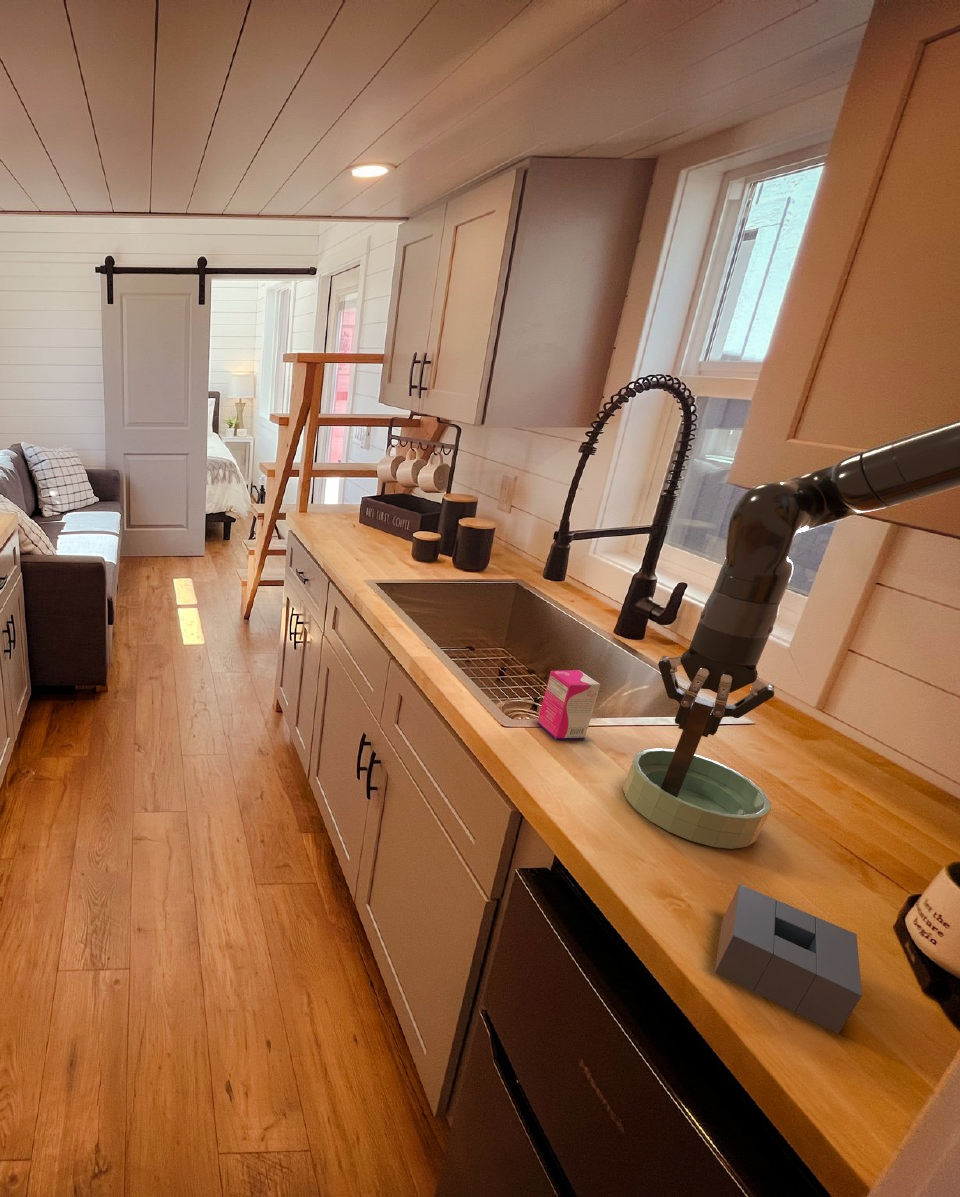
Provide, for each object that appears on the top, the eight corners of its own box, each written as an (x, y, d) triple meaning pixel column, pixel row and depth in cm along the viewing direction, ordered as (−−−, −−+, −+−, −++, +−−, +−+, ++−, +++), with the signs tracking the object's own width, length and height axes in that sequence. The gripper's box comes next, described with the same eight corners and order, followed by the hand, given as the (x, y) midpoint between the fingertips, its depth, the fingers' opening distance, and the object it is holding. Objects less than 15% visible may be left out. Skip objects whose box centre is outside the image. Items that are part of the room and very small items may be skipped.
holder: (834, 971, 74) (856, 933, 72) (837, 1035, 67) (862, 995, 65) (721, 919, 81) (739, 883, 78) (714, 973, 74) (733, 935, 72)
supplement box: (564, 722, 122) (580, 669, 118) (585, 740, 117) (603, 685, 113) (535, 722, 122) (550, 669, 118) (554, 741, 116) (571, 685, 112)
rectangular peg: (679, 791, 100) (714, 701, 94) (677, 797, 98) (713, 707, 92) (661, 784, 101) (695, 696, 95) (659, 791, 100) (694, 701, 94)
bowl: (757, 812, 100) (772, 780, 98) (751, 870, 89) (768, 835, 86) (632, 765, 110) (643, 736, 108) (612, 812, 99) (624, 780, 97)
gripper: (802, 632, 87) (755, 739, 94) (676, 603, 96) (641, 704, 102) (802, 649, 82) (752, 762, 89) (669, 617, 91) (632, 722, 97)
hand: (692, 730), depth 96 cm, fingers closed on rectangular peg, 2 cm apart
